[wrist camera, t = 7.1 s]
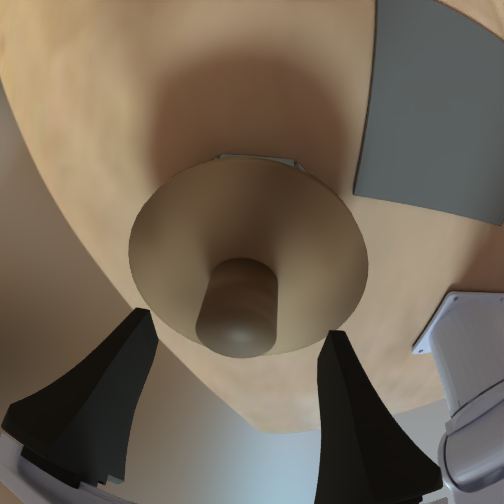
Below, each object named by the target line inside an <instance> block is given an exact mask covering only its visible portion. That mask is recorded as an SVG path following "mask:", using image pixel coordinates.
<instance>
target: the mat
mask: <svg viewBox="0 0 504 504" xmlns="http://www.w3.org/2000/svg"><path fill="white" fill-rule="evenodd" d="M353 195H355V196H361V197H368V198H374V199H380V200H386V201H391V202H397V203H402V204H408V205H413V206H418V207H423V208H428V209H433V210H437V211H442V212H447V213H451V214H455V215H460V216H464V217H468V218H472V219H476V220H480V221H484V222H488V223H492V224H495V225H499V226H502V224H503V221H504V42H503V41H502V40H500V39H499V38H498V37H496V36H495V35H493V34H492V33H490V32H489V31H487V30H486V29H484V28H483V27H481V26H480V25H478V24H477V23H475V22H473V21H472V20H470V19H468V18H467V17H465V16H463V15H461V14H460V13H458V12H456V11H454V10H452V9H450V8H448V7H446V6H444V5H442V4H440V3H438V2H436V1H434V0H376V26H375V44H374V57H373V68H372V78H371V87H370V95H369V103H368V110H367V117H366V124H365V130H364V136H363V142H362V148H361V154H360V159H359V164H358V170H357V175H356V180H355V184H354V189H353Z"/></svg>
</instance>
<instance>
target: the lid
mask: <svg viewBox="0 0 504 504" xmlns="http://www.w3.org/2000/svg"><path fill="white" fill-rule="evenodd" d="M128 255H129V264H130V269H131V273H132V277H133V279H134V282H135V284H136V287H137V289H138V291H139V292H140V294H141V296H142V298H143V299H144V301H145V302H146V303H147V305H148V306H149V307H150V309H151V310H152V311H153V312H154V313H155V314H156V315H157V316H158V317H159V318H160V319H161V320H162V321H163V322H164V323H165V324H167V325H168V326H169V327H171V328H172V329H173V330H175V331H176V332H178V333H179V334H181V335H183V336H184V337H186V338H188V339H190V340H192V341H194V342H196V343H198V344H200V345H203V346H206V347H207V348H209V349H210V350H212V351H214V352H216V353H218V354H221V355H224V356H228V357H233V358H252V357H257V356H263V355H275V354H282V353H287V352H291V351H295V350H299V349H302V348H304V347H307V346H310V345H312V344H314V343H316V342H318V341H320V340H322V339H324V338H325V337H327V335H328V332H329V330H337V329H338V328H339V327H340V326H341V325H342V324H343V323H344V322H345V321H346V320H347V319H348V318H349V317H350V315H351V314H352V313H353V312H354V310H355V309H356V307H357V305H358V304H359V302H360V300H361V298H362V295H363V293H364V290H365V286H366V282H367V277H368V256H367V249H366V246H365V243H364V239H363V236H362V234H361V232H360V229H359V227H358V225H357V223H356V221H355V219H354V217H353V215H352V213H351V212H350V211H349V209H348V208H347V206H346V205H345V204H344V202H343V201H342V200H341V199H340V198H339V197H338V196H337V195H336V194H335V193H334V192H333V191H332V190H331V189H330V188H329V187H328V186H326V185H325V184H324V183H322V182H321V181H319V180H318V179H317V178H315V177H314V176H312V175H310V174H308V173H306V172H304V171H302V170H300V169H298V168H296V167H293V166H290V165H287V164H285V163H282V162H278V161H273V160H269V159H264V158H255V157H229V158H220V159H215V160H211V161H206V162H203V163H200V164H198V165H195V166H192V167H190V168H187V169H186V170H184V171H182V172H180V173H178V174H177V175H175V176H173V177H172V178H171V179H169V180H168V181H167V182H166V183H165V184H163V185H162V186H161V187H160V188H159V189H158V190H157V191H156V192H155V193H154V194H153V195H152V196H151V197H150V199H149V200H148V201H147V202H146V203H145V204H144V206H143V207H142V209H141V211H140V212H139V214H138V215H137V217H136V220H135V222H134V225H133V227H132V230H131V235H130V239H129V253H128Z"/></svg>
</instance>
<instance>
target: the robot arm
mask: <svg viewBox="0 0 504 504" xmlns="http://www.w3.org/2000/svg"><path fill="white" fill-rule="evenodd" d="M158 341H159V340H158V337H157V333H156V330H155V327H154V323H153V320H152V317H151V313H150V310H148V309H142V308H137V307H136V308H135V309H134V310H133V311H132V312H131V313H130V314H129V315H128V316H127V317H126V318H125V319H124V320H123V322H121V324H120V325H119V326H118V327H117V328H116V329H115V330H114V331H113V332H112V333H111V334H110V335H109V336H108V337H107V338H106V339H105V340H104V341H103V342H102V343H101V344H100V345H99V346H98V347H97V348H96V349H94V350H93V351H92V352H91V353H90V354H89V355H88V356H87V357H86V358H85V359H83V360H82V361H81V362H80V363H79V364H77V365H76V366H75V367H74V368H73V369H71V370H70V371H69V372H67V373H66V374H65V375H63V376H62V377H60V378H59V379H58V380H56V381H55V382H53V383H52V384H50V385H48V386H47V387H45V388H43V389H42V390H40V391H38V392H36V393H35V394H32V395H31V396H28V397H26V398H24V399H22V400H19V401H17V402H15V403H13V404H11V405H10V406H9V408H8V410H7V413H6V415H5V417H4V419H3V422H2V424H1V427H2V429H3V430H5V431H6V432H7V433H8V434H9V435H11V436H12V437H13V438H15V439H16V440H17V441H19V442H20V443H22V444H23V445H24V446H23V445H22V444H20V443H18V442H17V441H15V440H14V439H13V438H11V437H10V436H8V435H7V434H6V433H2V435H1V438H0V481H1V482H2V483H3V484H4V485H6V486H7V487H8V488H9V489H10V490H11V491H12V492H13V493H14V494H15V495H16V496H17V497H18V498H19V499H20V500H21V501H22V502H23V503H25V504H137V503H134V502H131V501H129V500H126V499H123V498H121V497H118V496H115V495H113V494H111V493H108V492H106V491H103V490H101V489H99V488H97V484H98V483H100V484H103V485H105V484H106V481H107V480H108V481H111V482H114V483H117V484H120V483H122V482H124V476H125V462H126V454H127V446H128V441H129V435H130V430H131V425H132V420H133V416H134V412H135V409H136V405H137V402H138V400H139V397H140V394H141V392H142V389H143V386H144V384H145V381H146V379H147V376H148V374H149V371H150V368H151V366H152V363H153V360H154V356H155V353H156V349H157V344H158ZM412 353H413V354H422V353H432V355H433V358H434V361H435V364H436V367H437V370H438V373H439V376H440V379H441V382H442V386H443V389H444V393H445V396H446V400H447V404H448V407H449V411H450V415H451V420H449V421H448V422H446V423H445V427H446V432H445V433H444V435H443V436H442V438H441V441H440V444H439V447H438V452H437V464H436V463H434V462H433V461H432V460H431V459H430V458H429V457H428V456H427V455H426V454H424V453H423V452H422V451H421V450H420V449H419V447H417V446H416V445H415V444H414V442H413V441H412V440H411V439H410V438H409V436H408V435H407V434H406V433H405V432H404V431H403V430H402V428H401V427H400V426H399V425H398V423H397V422H396V421H395V419H394V418H393V417H392V415H391V414H390V412H389V411H388V410H387V408H386V407H385V405H384V404H383V402H382V401H381V399H380V397H379V396H378V394H377V392H376V391H375V389H374V388H373V386H372V384H371V382H370V381H369V379H368V377H367V375H366V373H365V371H364V369H363V368H362V366H361V364H360V362H359V360H358V358H357V356H356V354H355V352H354V350H353V348H352V345H351V343H350V341H349V339H348V337H347V335H346V333H345V331H340V330H329V332H328V335H327V337H326V340H325V342H324V345H323V347H322V349H321V352H320V354H319V357H318V362H317V385H318V396H319V407H320V419H321V453H320V465H319V475H318V483H317V490H316V496H315V501H314V504H419V502H422V500H423V498H422V495H425V494H428V493H431V492H434V491H437V490H439V489H441V488H442V487H443V481H444V483H445V484H446V485H447V486H448V487H449V489H450V491H451V493H452V495H453V498H454V502H455V504H504V293H482V292H456V291H452V292H449V293H448V294H447V295H446V297H445V299H444V300H443V302H442V304H441V306H440V307H439V309H438V311H437V312H436V314H435V315H434V317H433V319H432V320H431V322H430V323H429V325H428V326H427V328H426V329H425V331H424V332H423V334H422V335H421V337H420V338H419V340H418V341H417V343H416V344H415V345H414V347H413V348H412ZM427 504H448V499H447V498H446V497H445V498H442V499H439V500H436V501H433V502H430V503H427Z"/></svg>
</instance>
